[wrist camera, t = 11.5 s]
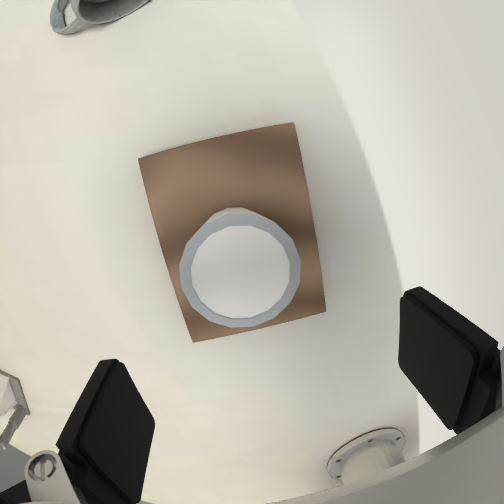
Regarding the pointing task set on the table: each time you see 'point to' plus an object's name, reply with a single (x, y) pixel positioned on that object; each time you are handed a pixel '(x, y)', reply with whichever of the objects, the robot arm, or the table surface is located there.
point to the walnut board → (231, 196)
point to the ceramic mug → (91, 12)
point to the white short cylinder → (239, 269)
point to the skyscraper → (11, 406)
